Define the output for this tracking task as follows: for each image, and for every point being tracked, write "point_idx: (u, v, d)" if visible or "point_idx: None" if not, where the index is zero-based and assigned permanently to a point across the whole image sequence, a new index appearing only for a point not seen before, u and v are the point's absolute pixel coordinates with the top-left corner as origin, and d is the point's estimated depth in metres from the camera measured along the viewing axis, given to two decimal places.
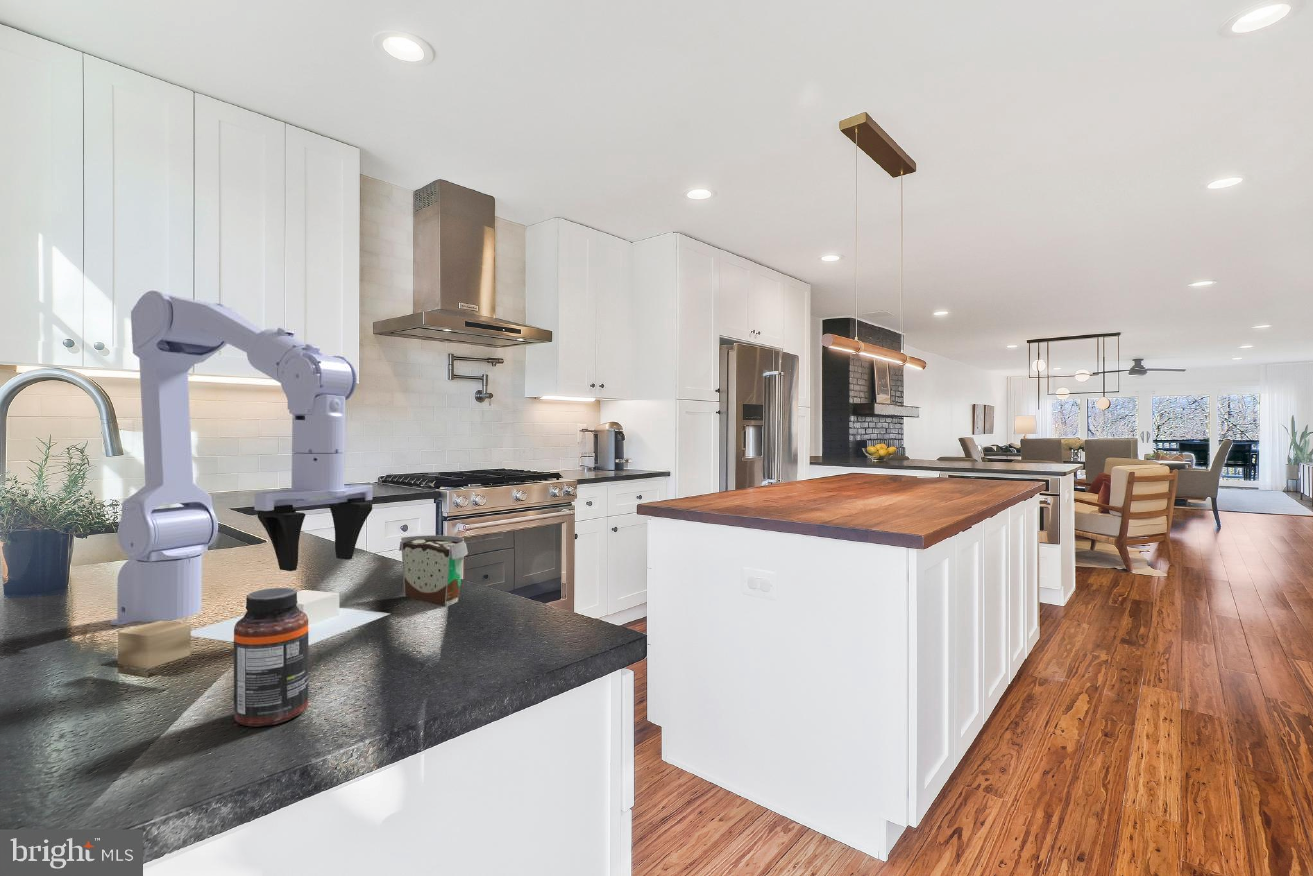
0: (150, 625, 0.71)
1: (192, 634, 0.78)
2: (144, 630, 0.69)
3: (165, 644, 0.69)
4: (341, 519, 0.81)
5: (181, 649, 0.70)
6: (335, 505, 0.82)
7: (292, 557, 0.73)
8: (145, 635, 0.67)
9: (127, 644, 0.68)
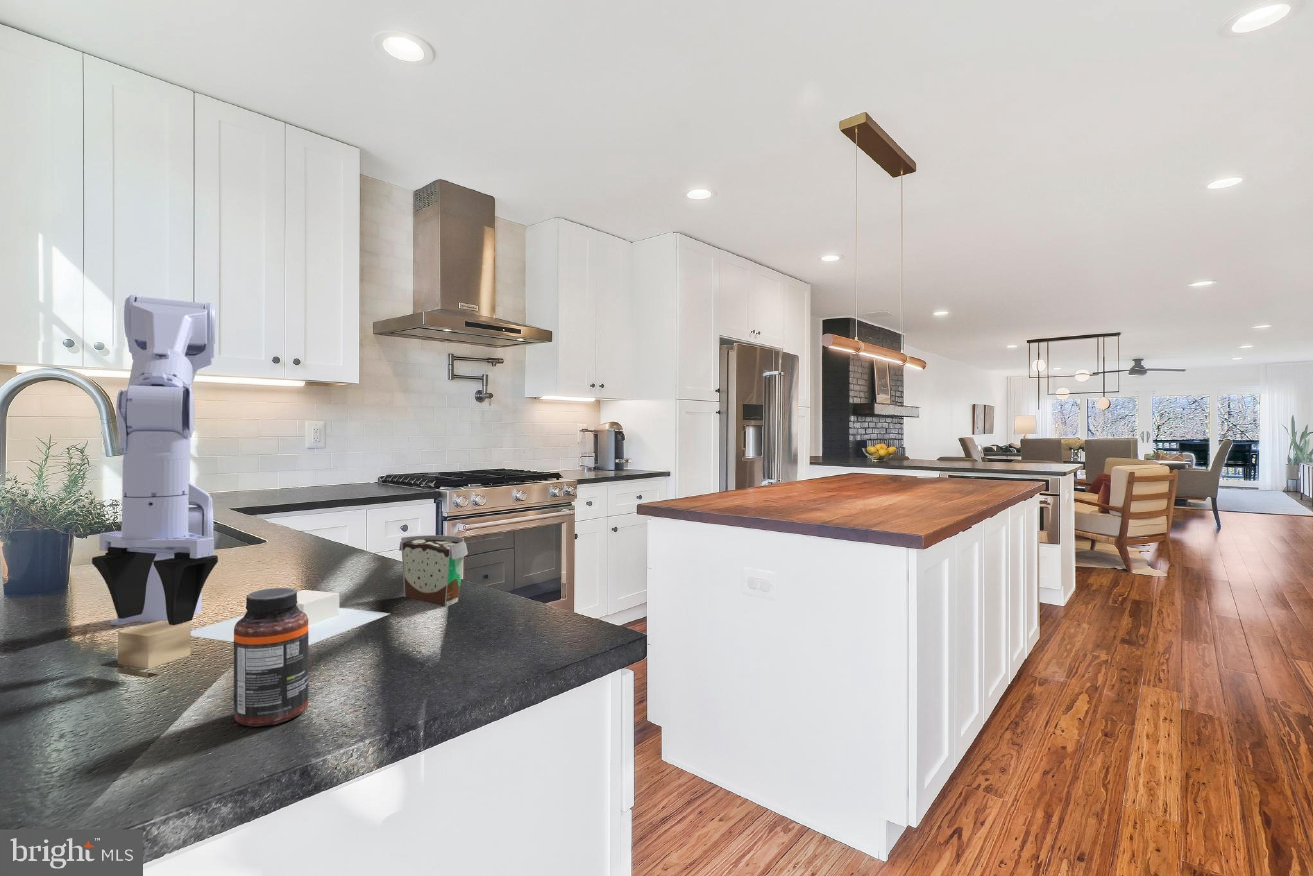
0: (150, 625, 0.71)
1: (192, 634, 0.78)
2: (144, 630, 0.69)
3: (165, 644, 0.69)
4: None
5: (181, 649, 0.70)
6: None
7: (114, 604, 0.70)
8: (145, 635, 0.67)
9: (127, 644, 0.68)
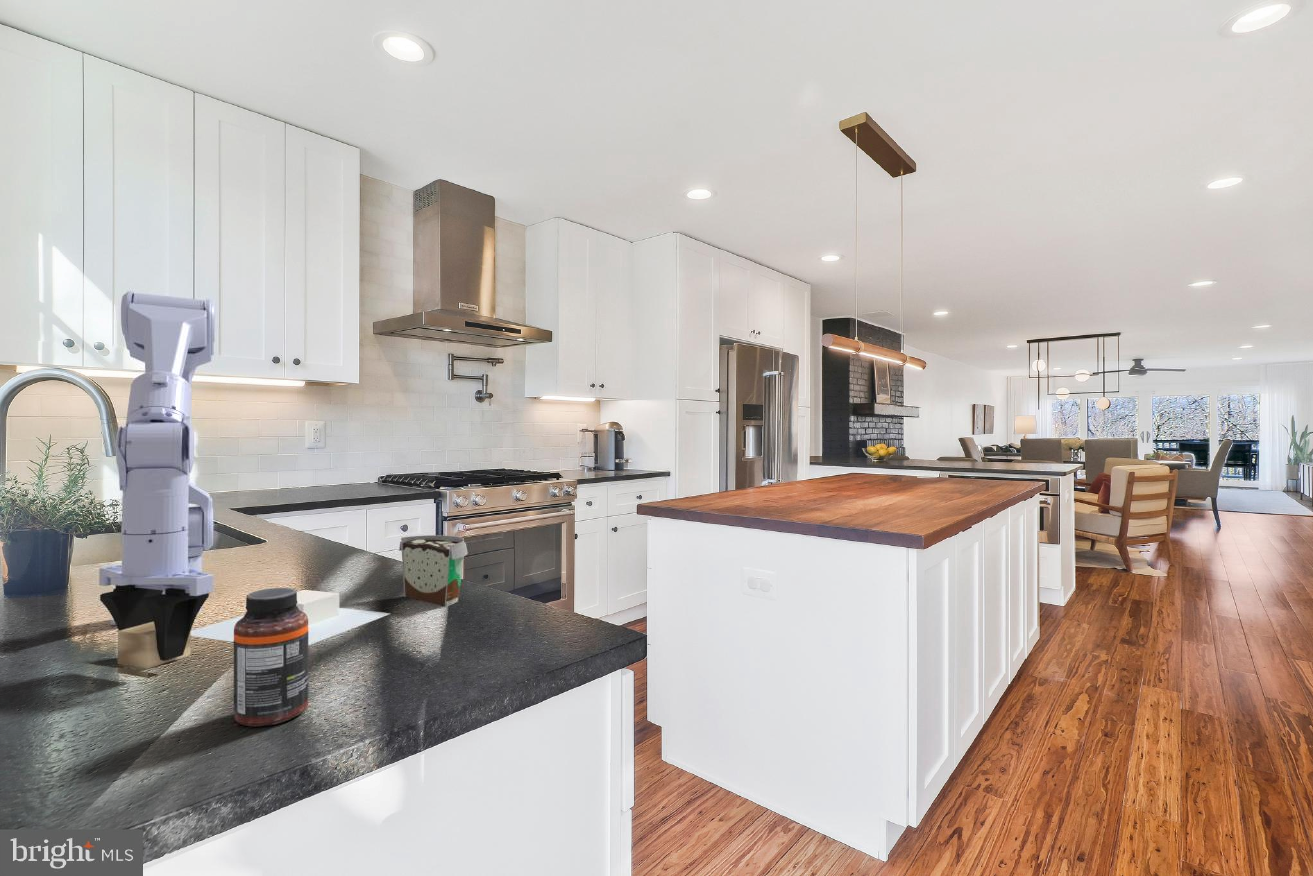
0: (150, 624, 0.71)
1: (192, 634, 0.78)
2: (144, 629, 0.69)
3: None
4: None
5: None
6: None
7: None
8: (145, 634, 0.67)
9: (127, 643, 0.68)
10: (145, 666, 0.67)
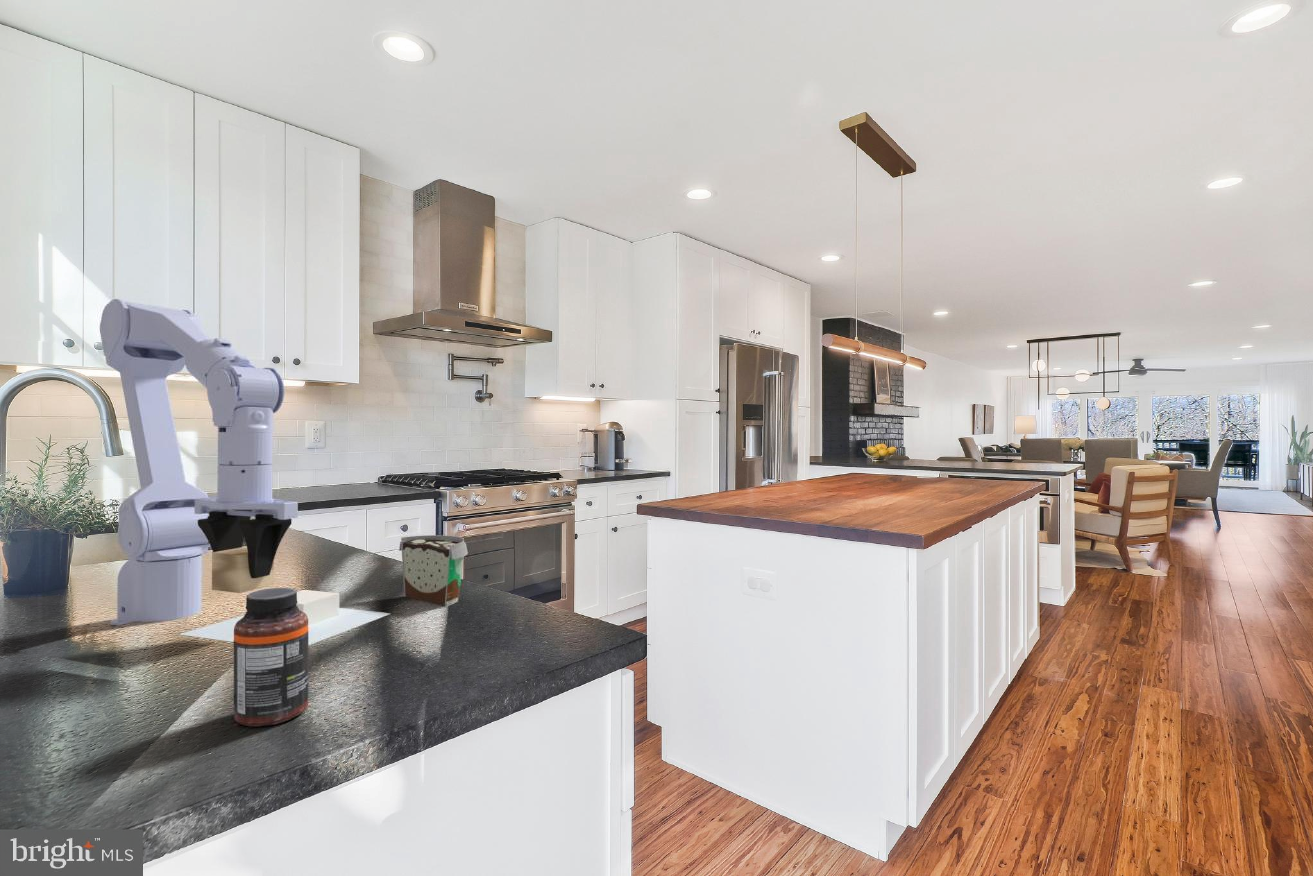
0: (238, 549, 0.79)
1: (192, 634, 0.78)
2: (234, 551, 0.77)
3: None
4: None
5: None
6: None
7: None
8: (237, 554, 0.76)
9: (220, 563, 0.76)
10: (237, 583, 0.75)
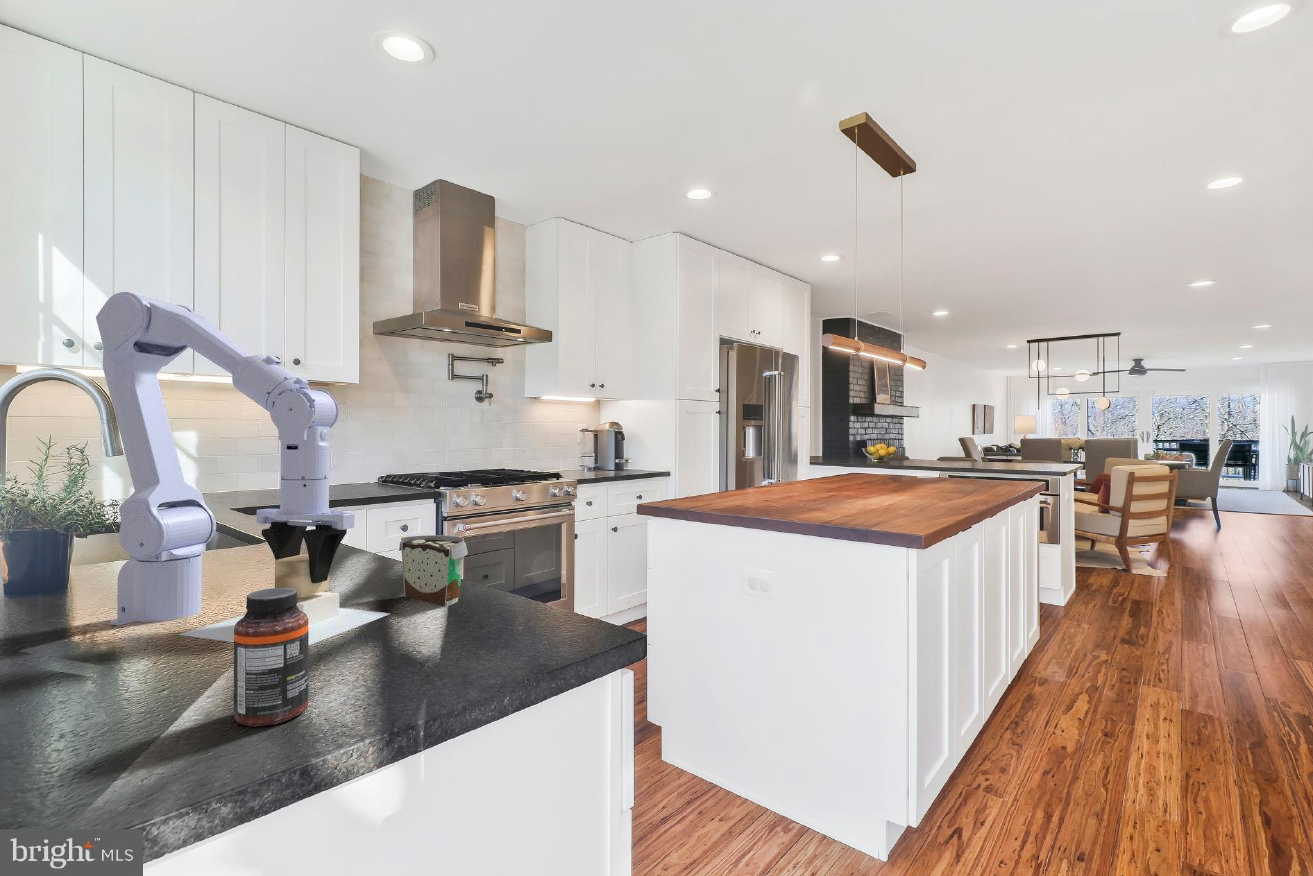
0: (297, 556, 0.86)
1: (192, 634, 0.78)
2: (295, 559, 0.84)
3: None
4: None
5: None
6: None
7: None
8: (299, 562, 0.82)
9: (283, 570, 0.83)
10: (299, 588, 0.82)
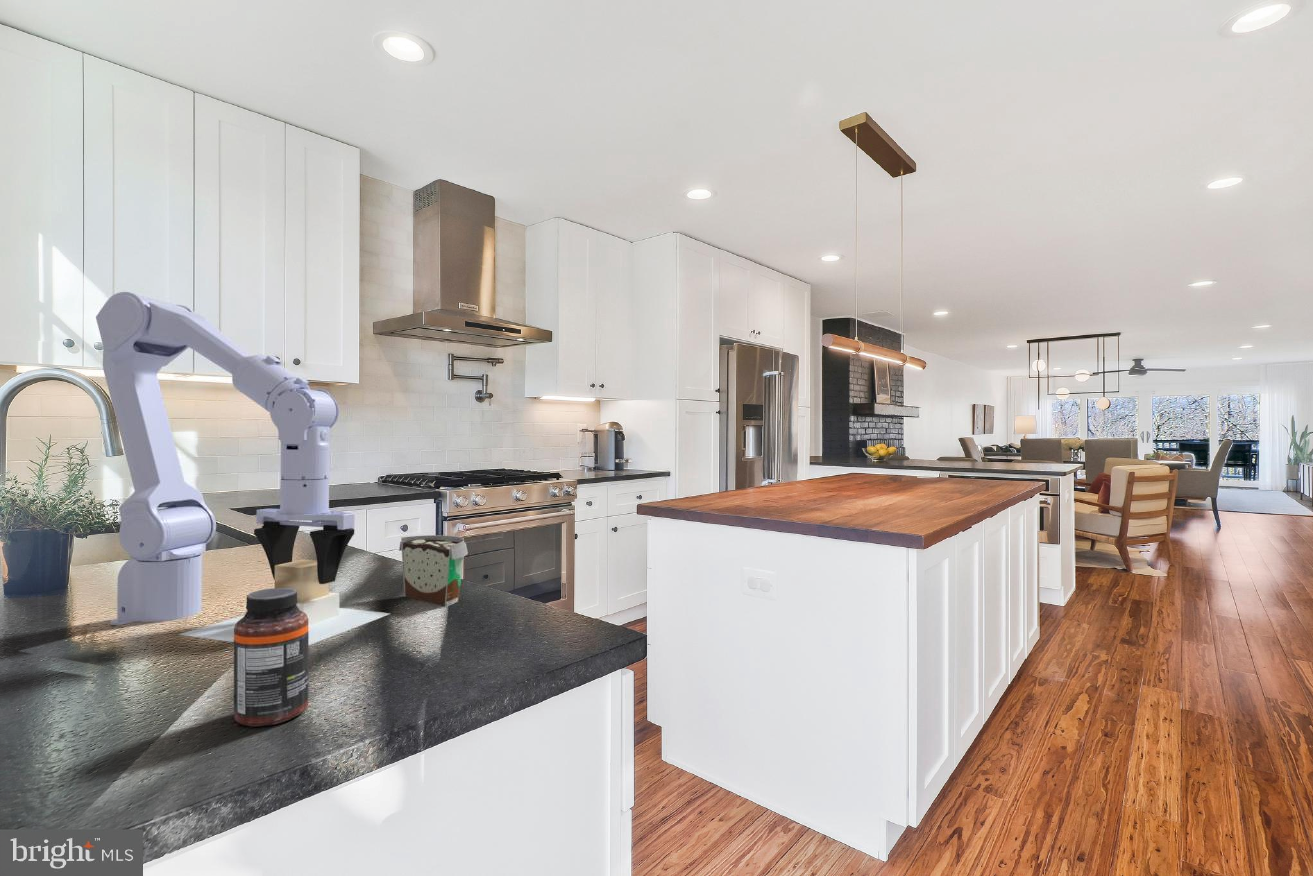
0: (297, 562, 0.86)
1: (192, 634, 0.78)
2: (295, 564, 0.84)
3: (313, 575, 0.84)
4: None
5: None
6: None
7: (271, 567, 0.85)
8: (299, 567, 0.82)
9: (283, 575, 0.83)
10: (299, 593, 0.82)
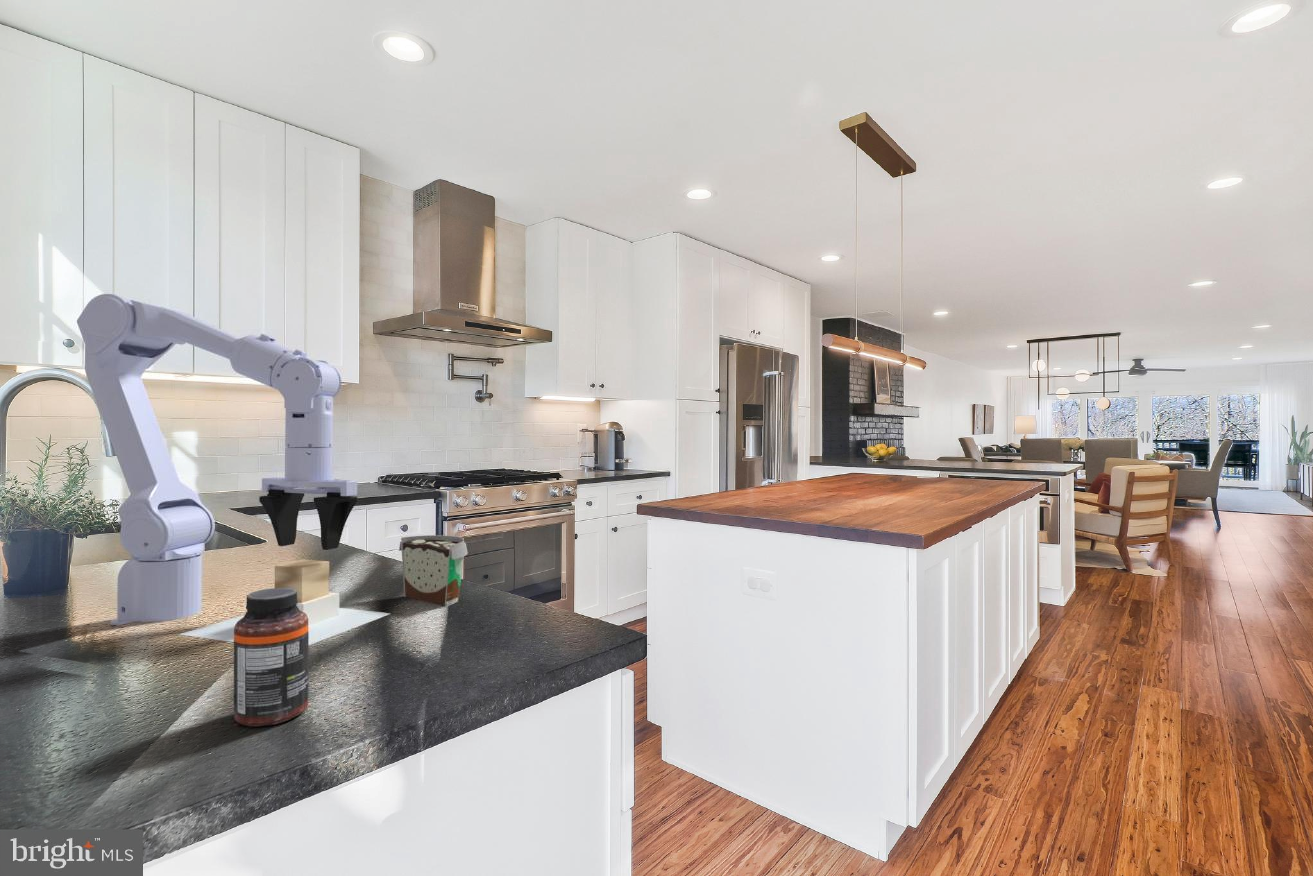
0: (297, 562, 0.86)
1: (192, 634, 0.78)
2: (295, 564, 0.84)
3: (313, 575, 0.84)
4: None
5: (323, 581, 0.86)
6: None
7: (276, 534, 0.87)
8: (299, 567, 0.82)
9: (283, 575, 0.83)
10: (299, 593, 0.82)
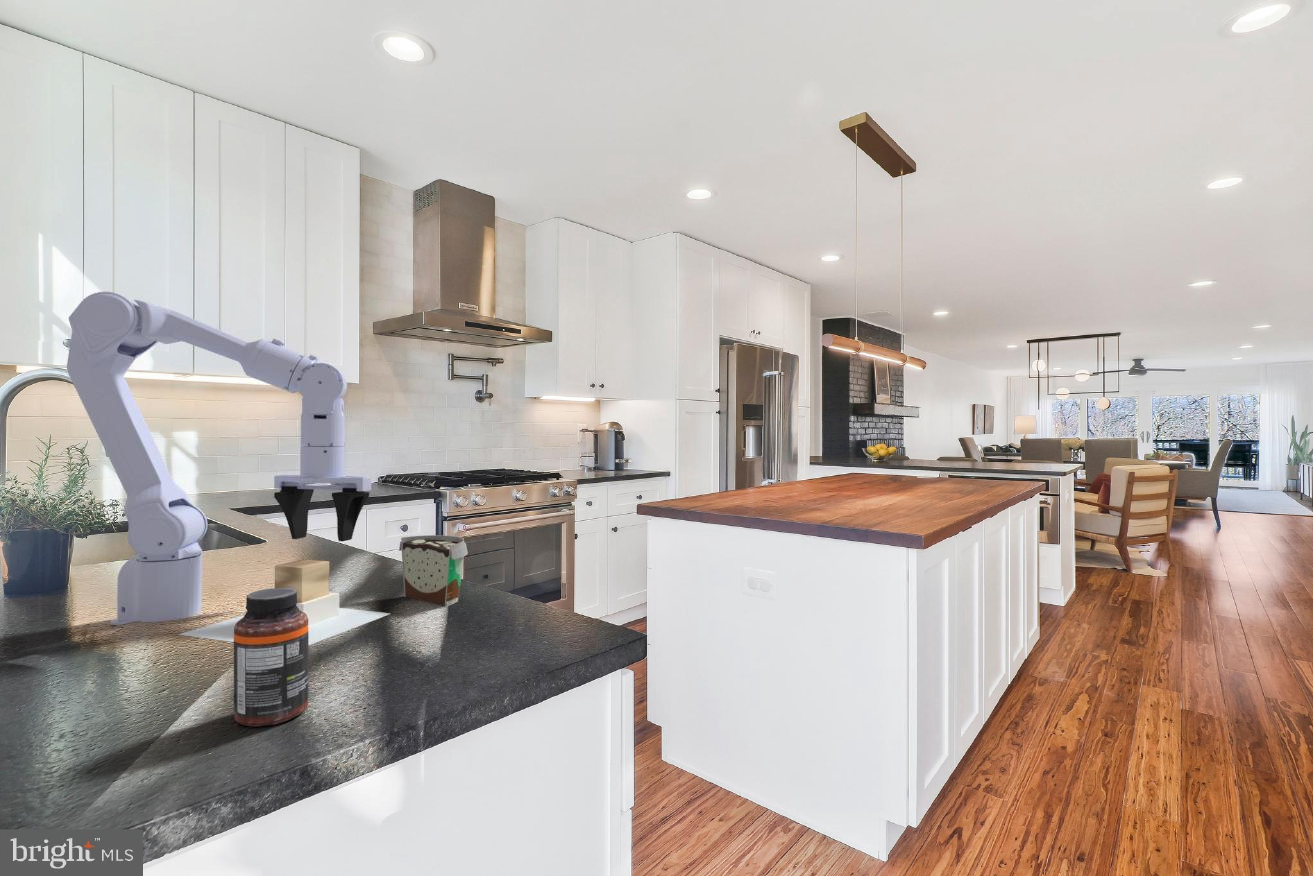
0: (297, 562, 0.86)
1: (192, 634, 0.78)
2: (295, 564, 0.84)
3: (313, 575, 0.84)
4: None
5: (323, 581, 0.86)
6: None
7: (290, 528, 0.93)
8: (299, 567, 0.82)
9: (283, 575, 0.83)
10: (299, 593, 0.82)
